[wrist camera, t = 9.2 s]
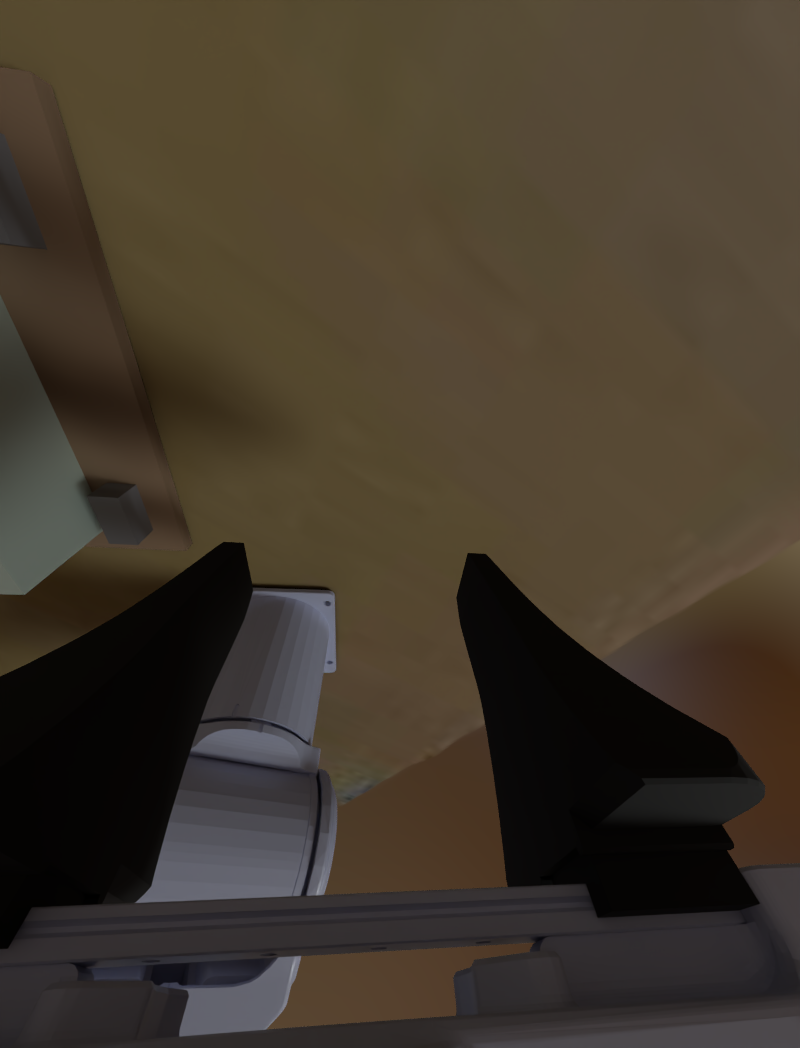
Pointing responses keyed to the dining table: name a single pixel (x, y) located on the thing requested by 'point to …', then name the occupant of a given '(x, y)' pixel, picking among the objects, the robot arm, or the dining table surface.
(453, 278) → the dining table surface
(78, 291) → the cradle board
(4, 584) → the block
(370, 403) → the dining table surface
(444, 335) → the dining table surface
